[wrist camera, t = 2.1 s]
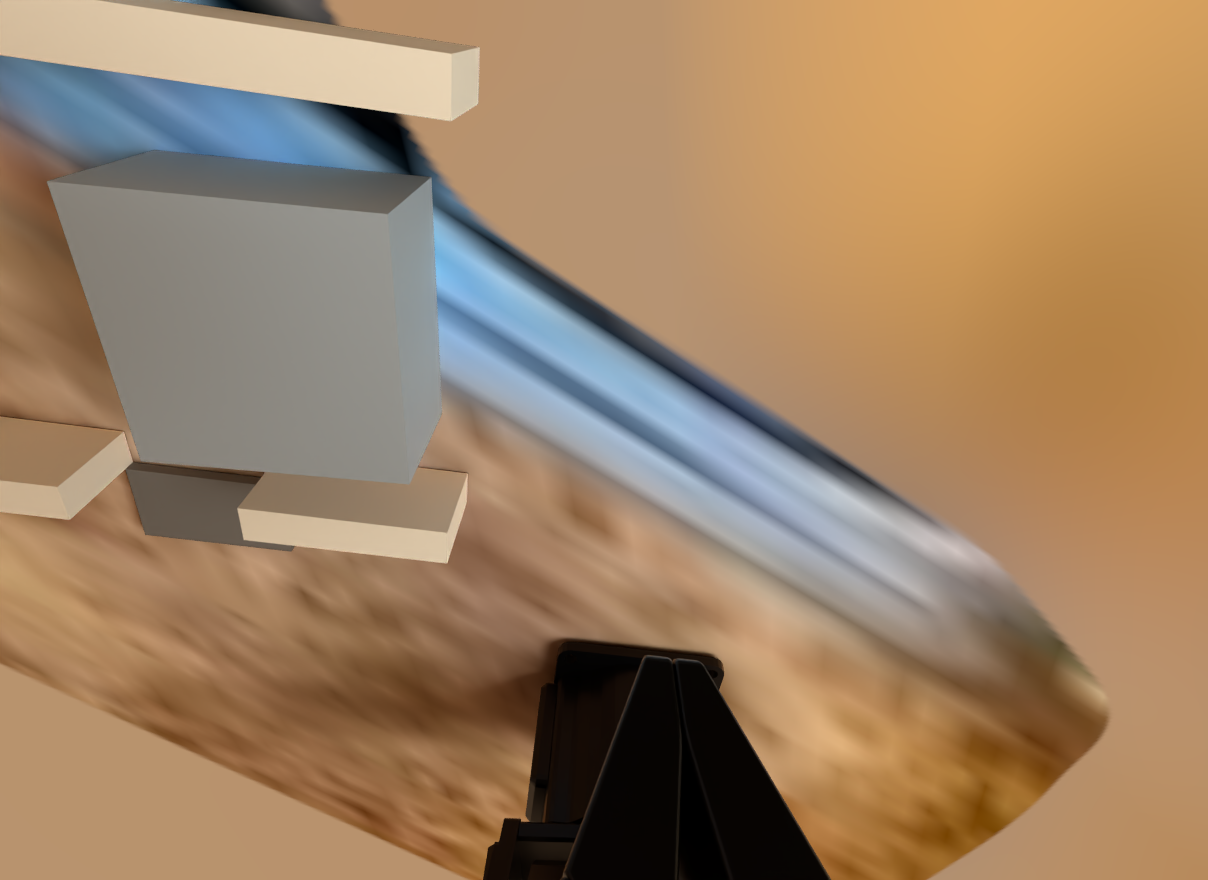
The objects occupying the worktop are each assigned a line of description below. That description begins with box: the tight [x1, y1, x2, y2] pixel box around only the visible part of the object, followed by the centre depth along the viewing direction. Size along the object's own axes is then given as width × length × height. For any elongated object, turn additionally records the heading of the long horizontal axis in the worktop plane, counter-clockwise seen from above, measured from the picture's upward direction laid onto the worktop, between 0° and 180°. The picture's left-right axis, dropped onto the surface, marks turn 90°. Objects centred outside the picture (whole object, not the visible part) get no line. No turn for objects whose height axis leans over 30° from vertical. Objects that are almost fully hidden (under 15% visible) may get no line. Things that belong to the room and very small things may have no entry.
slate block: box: [47, 150, 442, 484], centre depth 18 cm, size 7×7×4 cm
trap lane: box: [0, 0, 480, 563], centre depth 17 cm, size 20×13×3 cm
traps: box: [126, 462, 295, 551], centre depth 19 cm, size 6×22×1 cm, turn 16°
